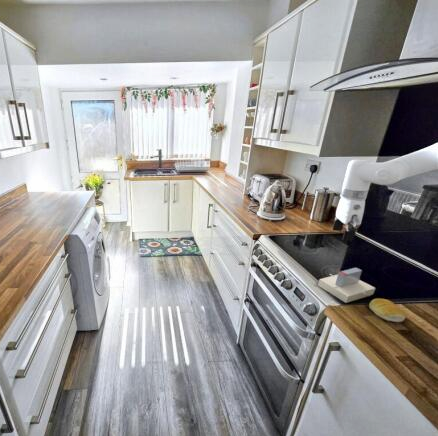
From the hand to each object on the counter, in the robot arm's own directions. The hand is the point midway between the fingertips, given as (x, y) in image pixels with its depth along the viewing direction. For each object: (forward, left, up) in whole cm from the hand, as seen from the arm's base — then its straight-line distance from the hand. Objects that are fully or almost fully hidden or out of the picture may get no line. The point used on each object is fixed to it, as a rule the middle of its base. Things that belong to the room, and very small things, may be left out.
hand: (341, 235), depth 95 cm
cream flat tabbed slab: (+4, +9, -19) cm, 21 cm away
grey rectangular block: (+4, +9, -16) cm, 19 cm away
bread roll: (+4, +22, -19) cm, 30 cm away
